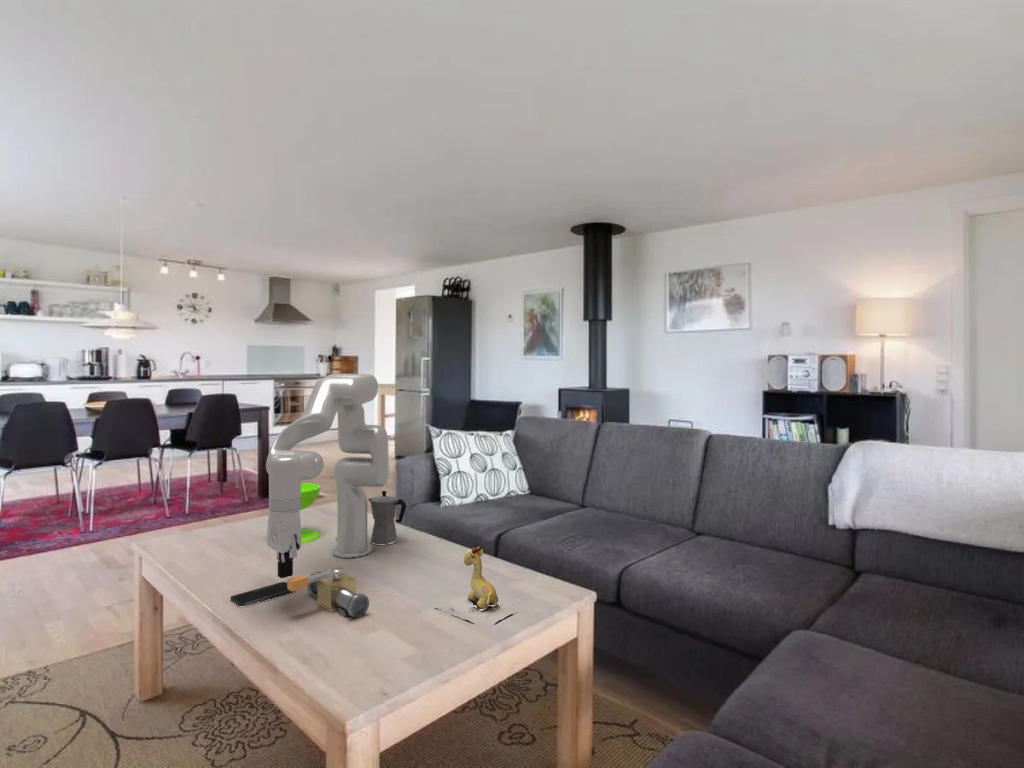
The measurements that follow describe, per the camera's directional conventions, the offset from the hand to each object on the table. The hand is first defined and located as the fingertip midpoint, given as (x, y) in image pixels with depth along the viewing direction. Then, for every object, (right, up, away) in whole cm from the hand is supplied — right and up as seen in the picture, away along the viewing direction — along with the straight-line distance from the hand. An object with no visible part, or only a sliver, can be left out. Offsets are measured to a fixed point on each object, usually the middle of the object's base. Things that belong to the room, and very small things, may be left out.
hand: (285, 576), depth 142 cm
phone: (-9, -9, +9) cm, 16 cm away
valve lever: (+8, -1, 0) cm, 8 cm away
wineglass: (-20, -7, +59) cm, 62 cm away
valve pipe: (+12, -9, +4) cm, 15 cm away
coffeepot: (+14, -7, +55) cm, 57 cm away
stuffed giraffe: (+50, -9, +2) cm, 51 cm away
